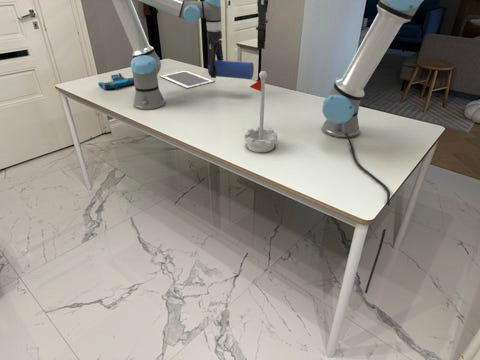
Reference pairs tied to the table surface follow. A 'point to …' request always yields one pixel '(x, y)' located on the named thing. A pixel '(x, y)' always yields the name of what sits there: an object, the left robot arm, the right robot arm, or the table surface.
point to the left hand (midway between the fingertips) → (216, 75)
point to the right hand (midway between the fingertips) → (261, 44)
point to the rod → (233, 69)
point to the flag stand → (261, 124)
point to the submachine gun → (116, 82)
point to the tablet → (187, 79)
